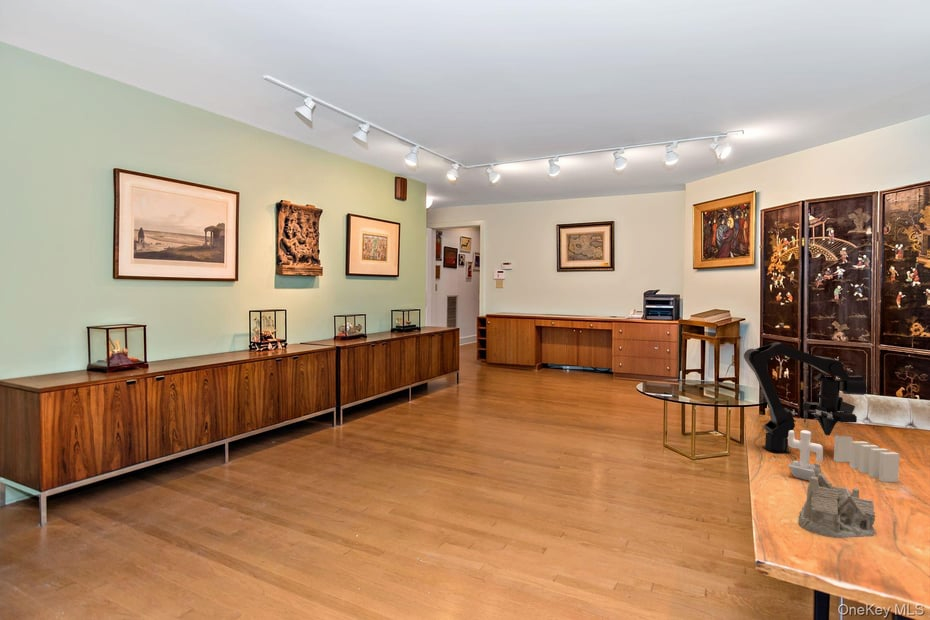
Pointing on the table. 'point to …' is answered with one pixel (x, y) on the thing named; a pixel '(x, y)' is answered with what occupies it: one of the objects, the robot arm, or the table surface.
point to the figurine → (804, 454)
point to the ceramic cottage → (835, 510)
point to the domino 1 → (842, 448)
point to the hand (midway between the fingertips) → (827, 435)
